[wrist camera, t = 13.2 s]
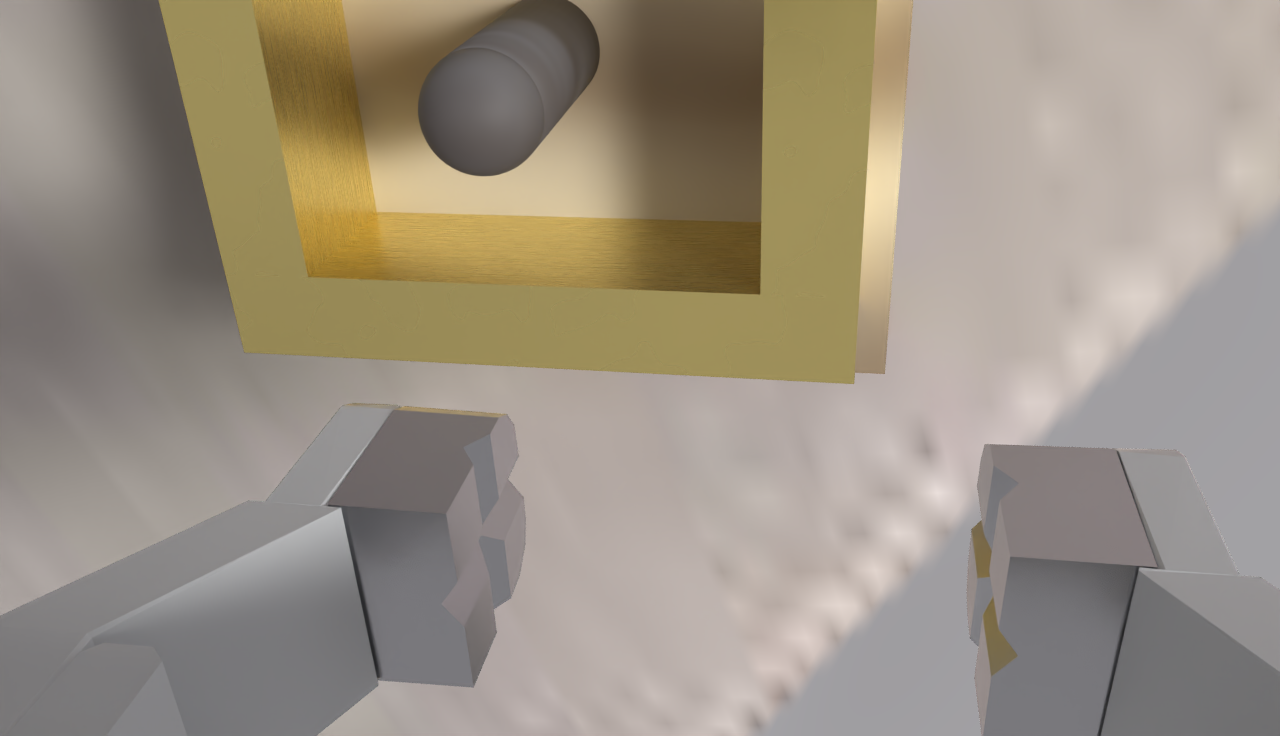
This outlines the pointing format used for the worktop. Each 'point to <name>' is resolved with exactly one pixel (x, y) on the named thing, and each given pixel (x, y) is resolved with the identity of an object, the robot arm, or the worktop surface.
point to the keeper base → (601, 115)
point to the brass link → (524, 219)
